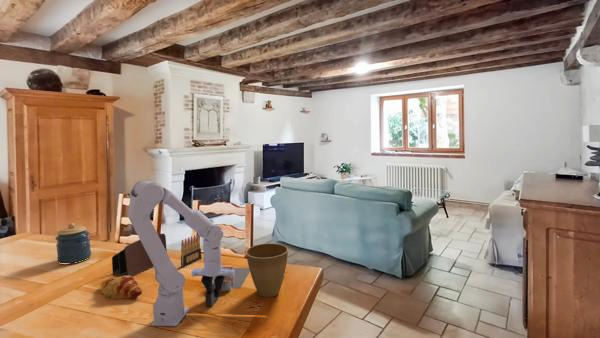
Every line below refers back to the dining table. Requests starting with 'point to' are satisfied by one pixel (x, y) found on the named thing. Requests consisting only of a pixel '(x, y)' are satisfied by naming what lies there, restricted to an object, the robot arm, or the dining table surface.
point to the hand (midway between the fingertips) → (214, 295)
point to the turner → (211, 293)
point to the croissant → (121, 288)
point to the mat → (239, 277)
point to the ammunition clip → (190, 251)
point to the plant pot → (267, 267)
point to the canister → (73, 244)
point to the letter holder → (133, 259)
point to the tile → (228, 276)
